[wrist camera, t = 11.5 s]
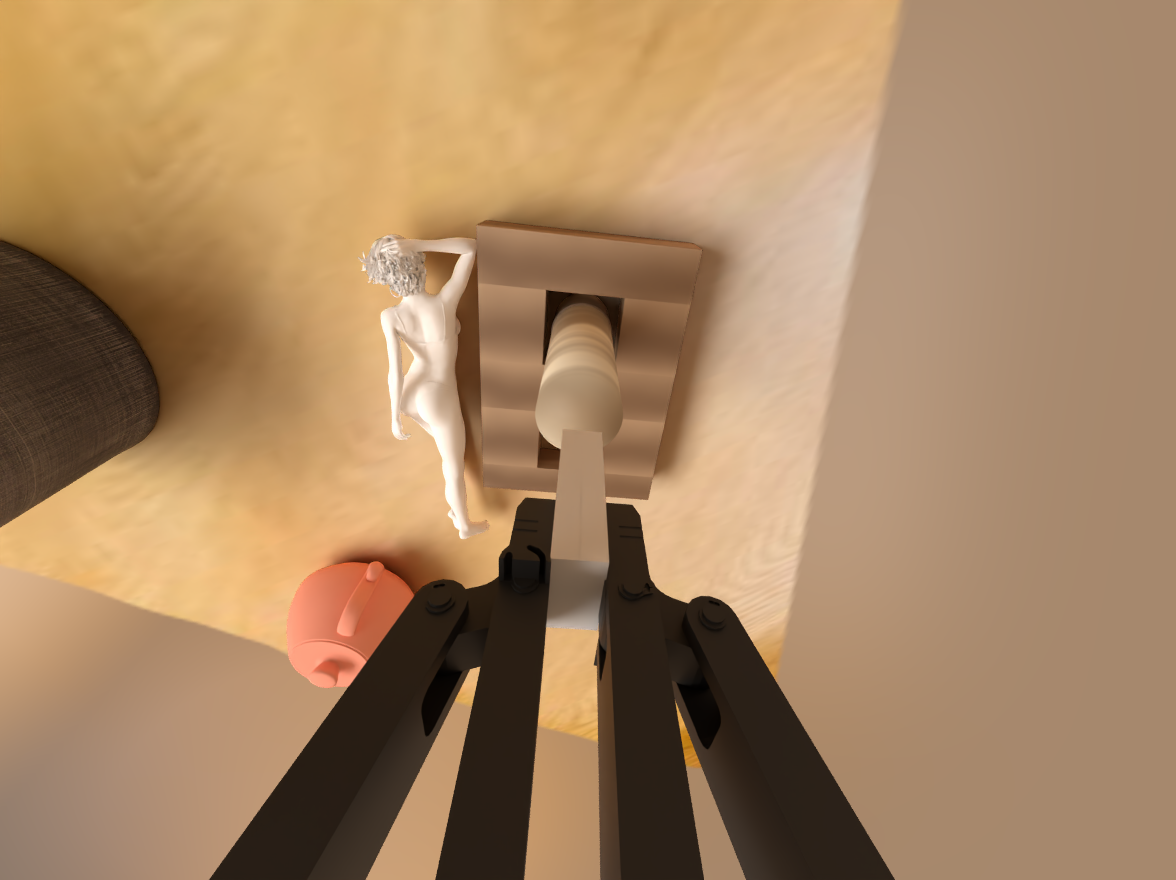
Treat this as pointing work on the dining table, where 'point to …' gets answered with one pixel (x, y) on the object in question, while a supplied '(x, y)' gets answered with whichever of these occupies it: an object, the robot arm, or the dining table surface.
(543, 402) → the leg
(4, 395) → the planter
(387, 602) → the sugar bowl
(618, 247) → the board
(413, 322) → the figurine
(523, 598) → the robot arm
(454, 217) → the dining table surface
